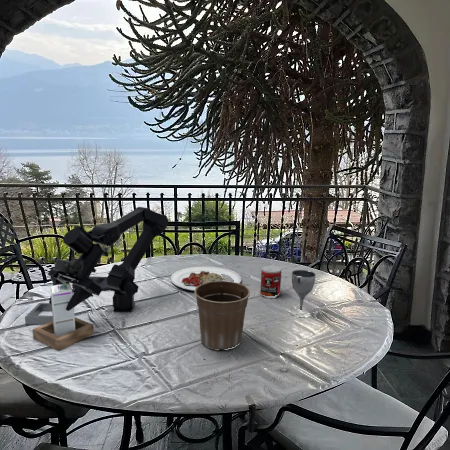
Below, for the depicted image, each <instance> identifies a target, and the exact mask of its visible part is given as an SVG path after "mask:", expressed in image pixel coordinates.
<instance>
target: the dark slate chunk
mask: <svg viewBox="0 0 450 450" xmlns="http://www.w3.org/2000/svg"><path fill="white" fill-rule="evenodd" d="M107 277H108V276H91V275H90V276H89V279H92V280H94V281H95V282H96V283H98V284H99V285H100V286H102V291H111V290H110V288H109V286H108V285H107ZM72 281H73V280H72ZM77 282H78V281H77ZM77 286H78V285H77ZM71 288H73V289H72V293H74V291H75V284H72V283H71Z"/></svg>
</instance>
